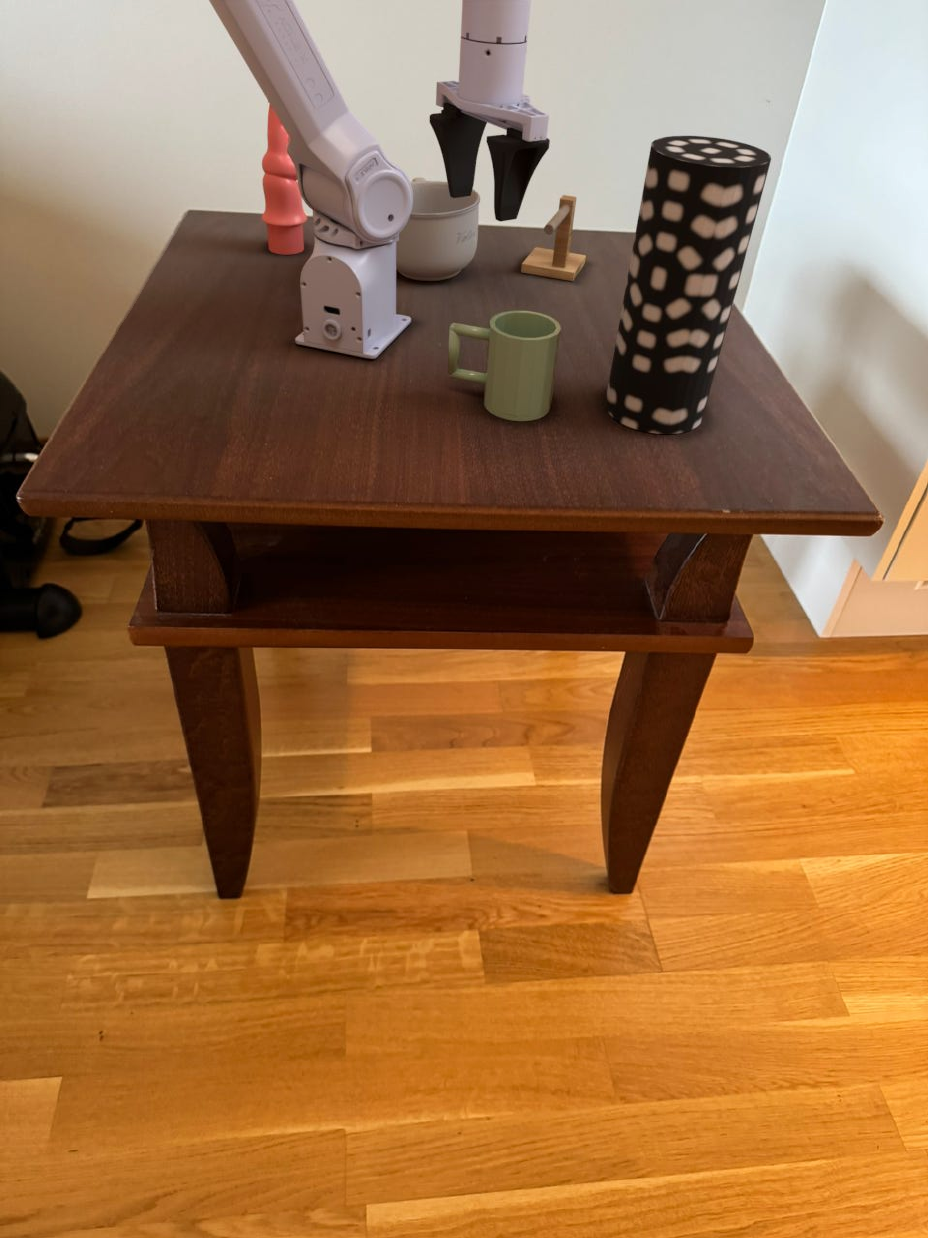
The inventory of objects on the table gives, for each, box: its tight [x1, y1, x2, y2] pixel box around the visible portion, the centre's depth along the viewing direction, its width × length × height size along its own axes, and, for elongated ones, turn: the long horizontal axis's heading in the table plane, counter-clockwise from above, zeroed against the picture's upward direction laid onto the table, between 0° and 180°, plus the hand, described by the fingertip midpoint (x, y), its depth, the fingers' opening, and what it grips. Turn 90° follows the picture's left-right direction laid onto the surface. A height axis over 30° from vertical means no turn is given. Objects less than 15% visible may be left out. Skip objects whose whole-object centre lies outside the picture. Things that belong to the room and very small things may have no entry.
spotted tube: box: [604, 135, 772, 435], centre depth 67 cm, size 8×8×20 cm
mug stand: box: [520, 194, 587, 282], centre depth 93 cm, size 12×6×8 cm, turn 162°
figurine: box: [261, 100, 308, 256], centre depth 93 cm, size 5×5×15 cm
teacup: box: [396, 177, 481, 282], centre depth 94 cm, size 14×11×8 cm
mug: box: [447, 310, 562, 422], centre depth 71 cm, size 9×6×7 cm, turn 72°
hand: (482, 207), depth 83 cm, fingers open, 7 cm apart
